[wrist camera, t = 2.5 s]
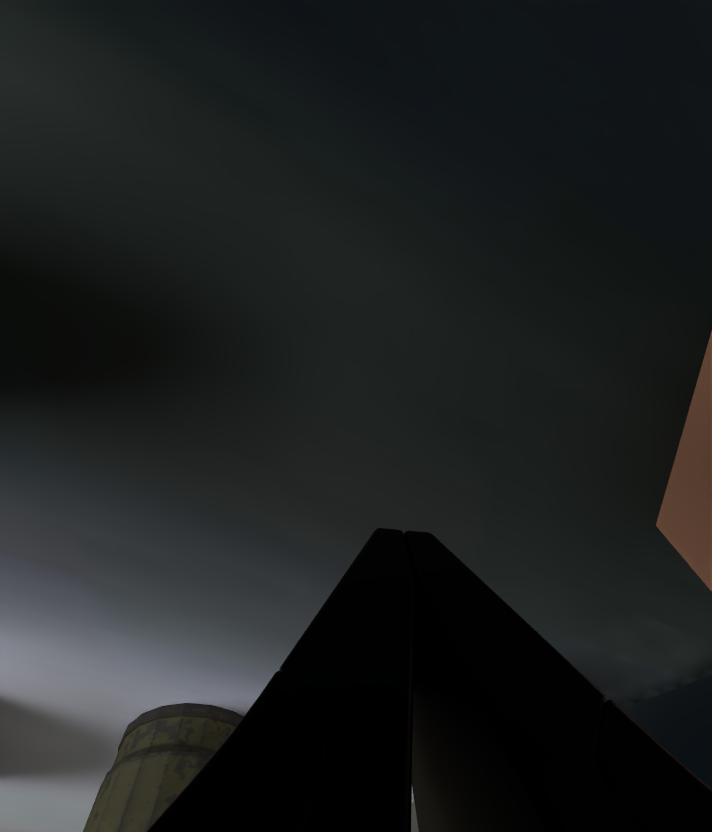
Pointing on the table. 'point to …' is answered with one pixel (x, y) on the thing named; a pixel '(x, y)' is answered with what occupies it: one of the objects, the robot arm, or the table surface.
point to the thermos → (157, 764)
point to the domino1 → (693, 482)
